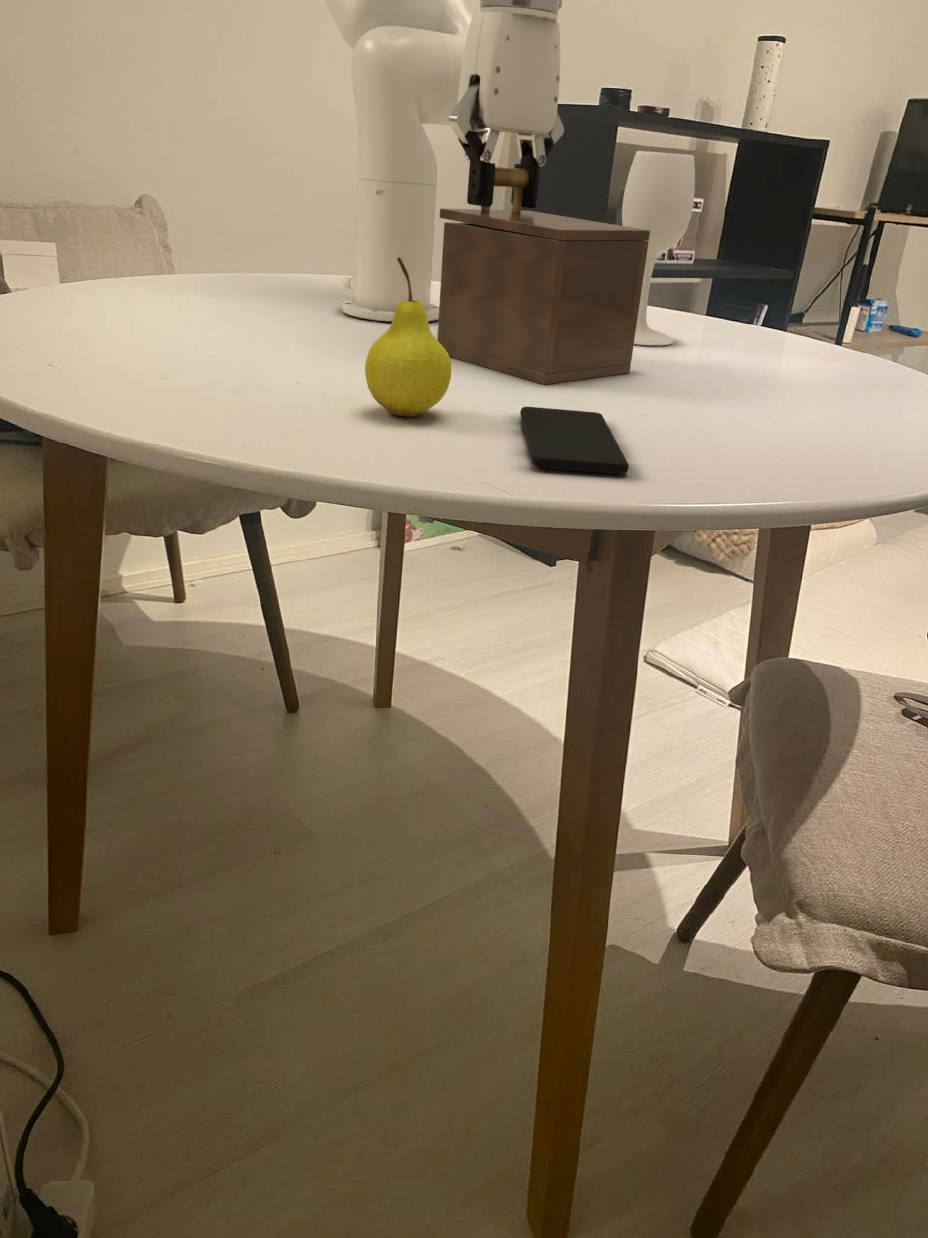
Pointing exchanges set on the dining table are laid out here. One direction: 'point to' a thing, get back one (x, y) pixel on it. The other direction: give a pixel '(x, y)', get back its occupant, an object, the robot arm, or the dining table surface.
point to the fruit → (408, 362)
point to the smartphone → (571, 441)
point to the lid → (538, 217)
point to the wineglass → (658, 216)
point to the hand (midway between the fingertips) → (501, 203)
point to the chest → (539, 302)
